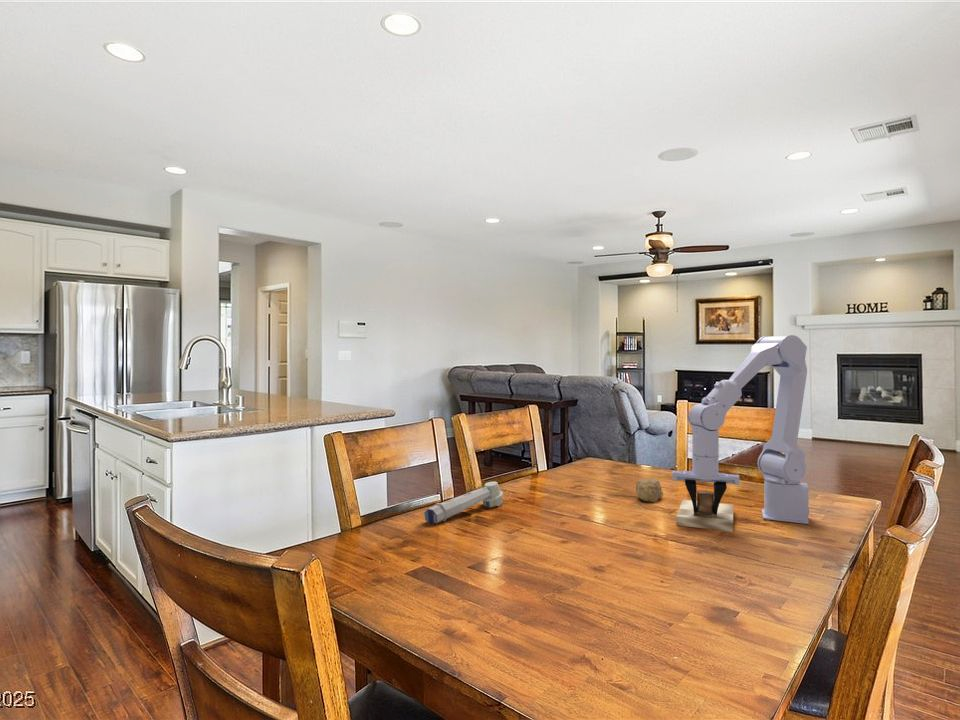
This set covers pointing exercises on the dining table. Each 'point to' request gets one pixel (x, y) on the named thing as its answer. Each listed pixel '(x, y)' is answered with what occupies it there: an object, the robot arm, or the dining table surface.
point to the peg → (705, 504)
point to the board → (716, 522)
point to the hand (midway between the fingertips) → (705, 512)
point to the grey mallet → (465, 503)
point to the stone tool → (649, 489)
